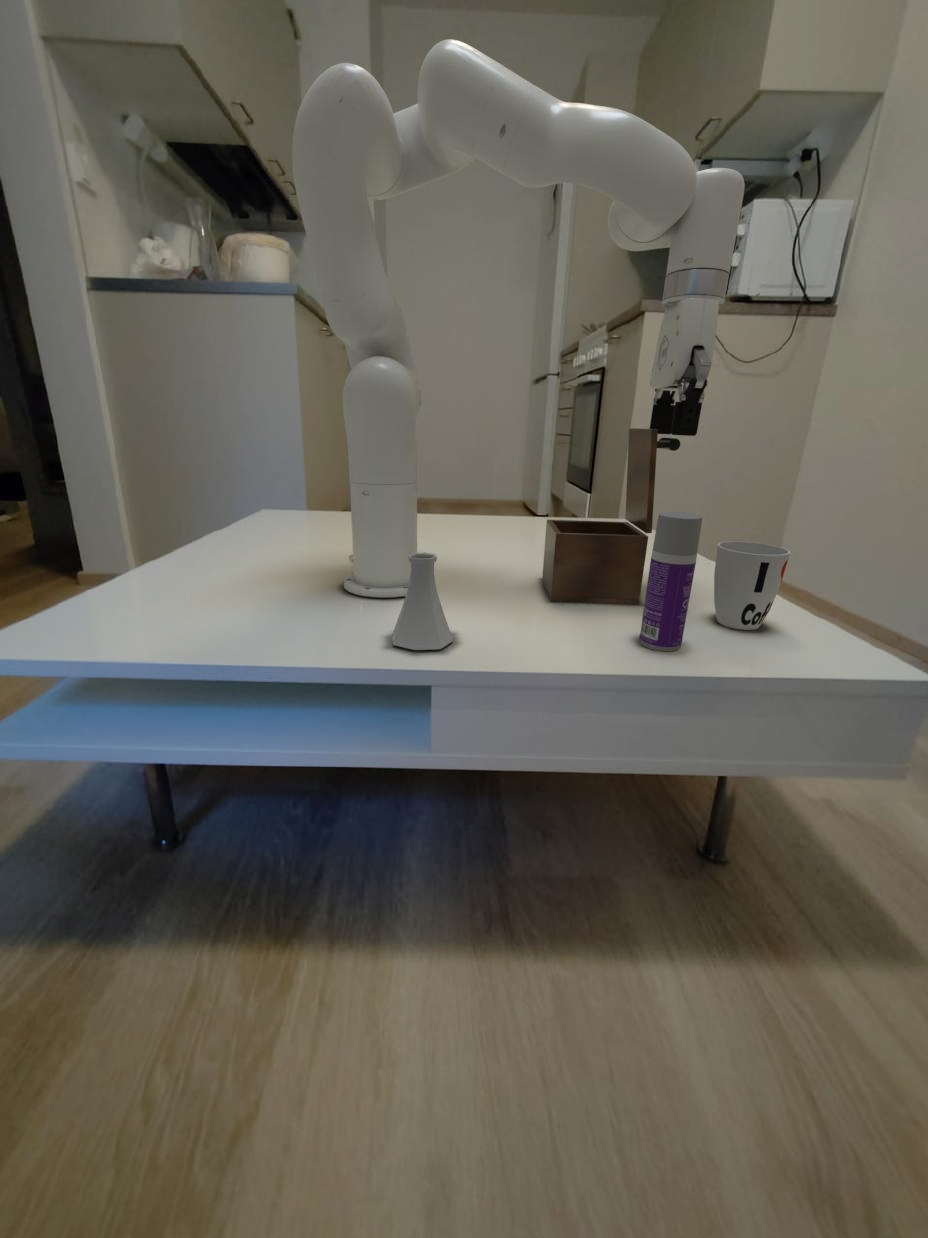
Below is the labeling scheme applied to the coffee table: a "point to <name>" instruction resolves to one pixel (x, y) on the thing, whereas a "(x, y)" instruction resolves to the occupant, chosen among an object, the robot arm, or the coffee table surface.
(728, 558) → the cup
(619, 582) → the bin
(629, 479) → the bin lid
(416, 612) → the flask
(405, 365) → the robot arm
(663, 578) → the container
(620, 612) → the coffee table surface
